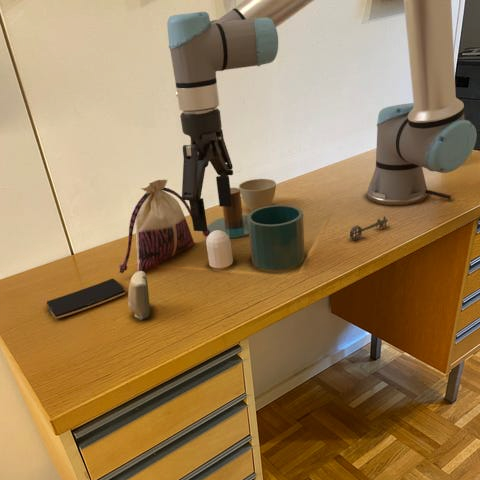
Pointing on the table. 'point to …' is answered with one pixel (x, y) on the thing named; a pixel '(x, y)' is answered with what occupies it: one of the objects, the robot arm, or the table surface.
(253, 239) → the pot
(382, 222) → the key
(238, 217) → the lid
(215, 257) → the capsule
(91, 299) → the smartphone
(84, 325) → the table surface
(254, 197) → the flower pot
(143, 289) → the cream tapered case
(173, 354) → the table surface
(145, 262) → the pouch
